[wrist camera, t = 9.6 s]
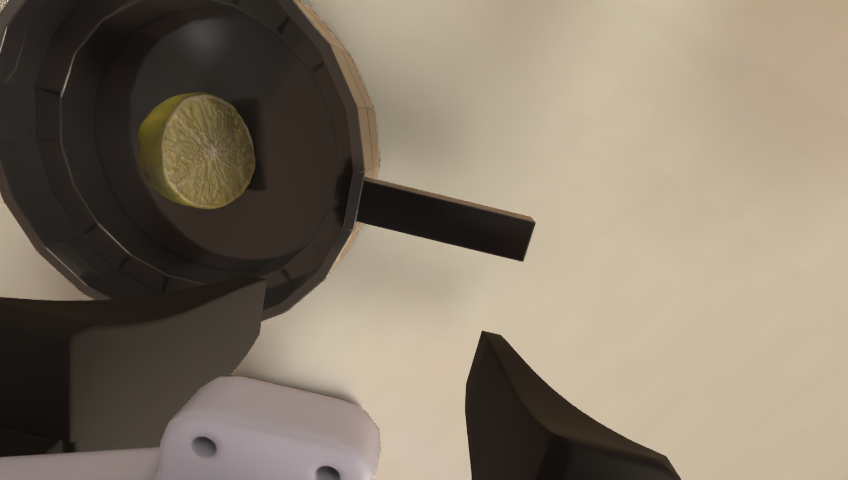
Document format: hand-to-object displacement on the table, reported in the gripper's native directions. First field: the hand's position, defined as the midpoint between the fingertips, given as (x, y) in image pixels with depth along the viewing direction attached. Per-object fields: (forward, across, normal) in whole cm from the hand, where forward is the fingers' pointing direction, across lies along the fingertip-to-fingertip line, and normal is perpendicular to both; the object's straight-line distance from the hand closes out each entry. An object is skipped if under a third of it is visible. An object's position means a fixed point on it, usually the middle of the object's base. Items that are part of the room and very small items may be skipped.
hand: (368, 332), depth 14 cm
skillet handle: (+6, -2, -3) cm, 7 cm away
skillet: (+9, +10, -3) cm, 14 cm away
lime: (+9, +10, -3) cm, 14 cm away
